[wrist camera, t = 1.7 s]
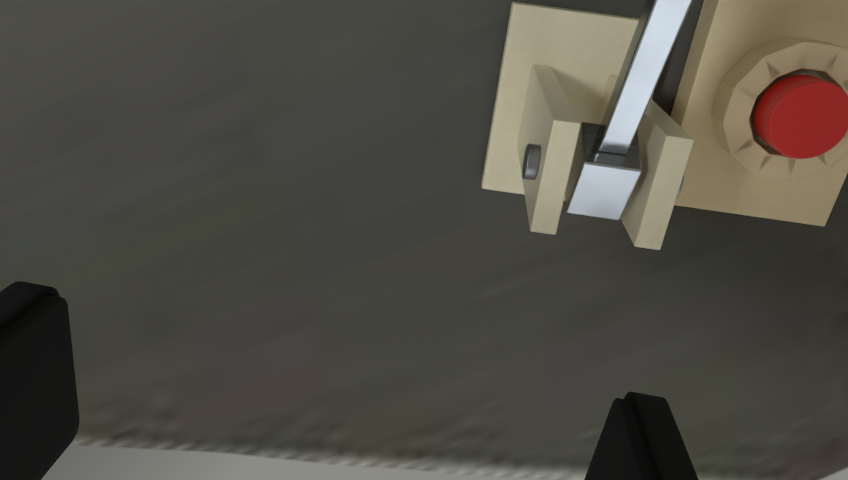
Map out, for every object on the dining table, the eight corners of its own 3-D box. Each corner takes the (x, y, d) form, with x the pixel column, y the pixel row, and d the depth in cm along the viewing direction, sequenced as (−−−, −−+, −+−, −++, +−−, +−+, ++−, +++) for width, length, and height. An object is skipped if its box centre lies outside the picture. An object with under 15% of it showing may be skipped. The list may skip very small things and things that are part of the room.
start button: (769, 69, 30) (785, 76, 28) (846, 79, 30) (866, 87, 28) (743, 143, 31) (757, 153, 30) (816, 153, 31) (834, 164, 30)
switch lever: (619, -150, 18) (625, -115, 16) (801, -127, 17) (825, -89, 16) (531, 167, 27) (529, 208, 25) (649, 184, 27) (655, 226, 25)
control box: (714, -38, 31) (744, -35, 28) (898, -14, 31) (953, -8, 27) (648, 189, 36) (666, 215, 33) (806, 211, 36) (842, 241, 33)
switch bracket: (511, 0, 33) (526, 31, 21) (666, 21, 33) (765, 64, 21) (481, 181, 37) (479, 288, 26) (617, 201, 37) (678, 318, 25)
